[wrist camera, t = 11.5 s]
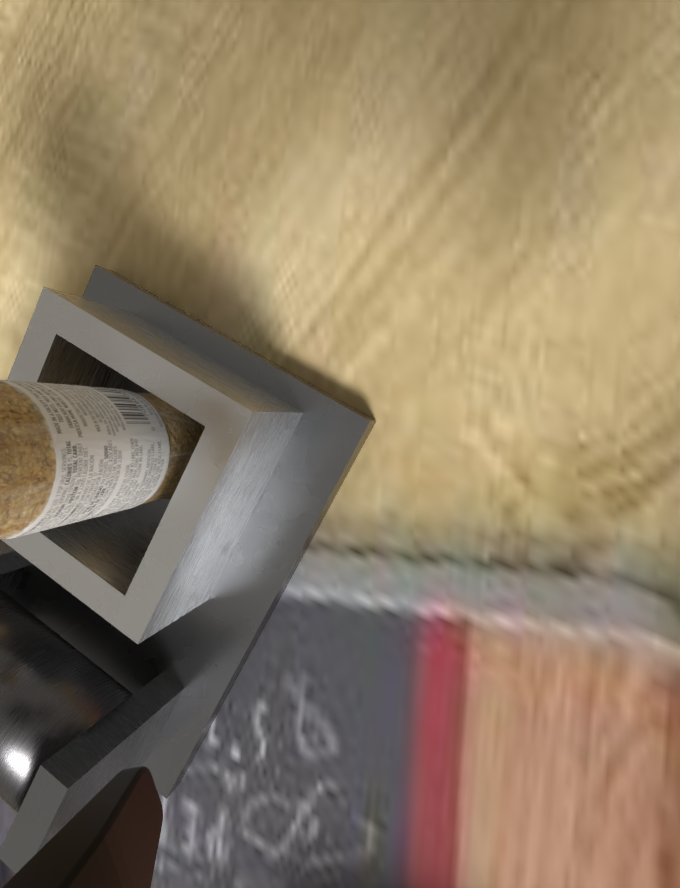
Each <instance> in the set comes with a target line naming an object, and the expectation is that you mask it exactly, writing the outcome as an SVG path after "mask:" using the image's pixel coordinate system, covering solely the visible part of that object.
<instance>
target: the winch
mask: <svg viewBox="0 0 680 888" xmlns="http://www.w3.org/2000/svg"><path fill="white" fill-rule="evenodd" d="M8 380H12V381H25V382H39V383H53V384H66V385H79V386H90V387H103V388H116V389H124V390H128V391H131V392H137V393H152V394H154V395H156V396H157V397H159V398H160V399H162V400H164V401H165V402H167V403H168V404H170V405H172V406H173V407H175V408H176V409H178V410H180V411H181V412H183V413H184V414H186V415H188V416H189V417H191V418H192V419H194V420H196V421H197V422H199V423H200V424H202V425H204V426H205V429H204V431H203V433H202V435H201V437H200V440H199V442H198V444H197V446H196V448H195V450H194V452H193V454H192V456H191V458H190V461H189V463H188V465H187V467H186V469H185V471H184V473H183V475H182V477H181V479H180V481H179V484H178V486H177V488H176V490H175V492H174V494H173V496H172V498H171V499H160V500H155V501H151V502H148V503H144V504H140V505H138V506H136V507H134V508H130V509H127V510H123V511H119V512H115V513H111V514H107V515H103V516H99V517H95V518H91V519H87V520H83V521H79V522H75V523H71V524H67V525H63V526H59V527H55V528H51V529H48V530H44V531H40V532H36V533H32V534H28V535H24V536H20V537H15V538H11V539H2V538H1V539H0V798H2V799H3V800H4V801H5V802H6V803H7V804H8V805H9V806H10V807H11V808H12V809H13V810H15V811H16V812H17V816H16V818H15V820H14V822H13V824H12V826H11V828H10V830H9V832H8V834H7V837H6V839H5V841H4V843H3V845H2V847H1V849H0V859H1V860H2V861H3V862H4V863H5V864H6V865H7V866H8V867H9V868H10V869H11V870H12V871H13V872H14V873H15V874H16V873H17V872H18V871H19V870H20V869H21V868H22V867H23V866H24V865H25V864H26V863H27V862H28V861H29V860H30V859H31V858H32V857H33V856H34V855H35V854H36V853H37V852H38V851H39V850H40V849H41V848H42V847H43V846H44V845H45V844H46V843H47V842H48V841H49V840H50V839H51V838H53V837H54V836H55V835H56V834H57V833H58V832H59V831H60V830H61V829H62V828H63V827H64V826H65V825H66V824H67V823H68V822H69V821H70V820H71V819H72V818H73V817H74V816H75V815H76V814H77V813H78V812H79V811H80V810H81V809H82V808H83V807H84V806H85V805H86V804H87V803H88V802H89V801H90V800H91V799H92V798H93V797H94V796H95V795H96V794H97V793H98V792H99V791H100V790H101V789H102V788H103V787H104V786H105V785H106V784H107V783H108V782H109V781H110V780H111V779H112V778H113V777H114V776H115V775H117V774H118V773H119V772H120V771H122V770H124V769H128V768H134V767H140V766H145V767H147V768H148V769H149V770H150V772H151V774H152V777H153V780H154V783H155V786H156V789H157V791H158V792H159V793H160V794H161V795H163V796H164V797H165V798H167V797H168V796H169V795H170V794H171V793H172V792H173V790H174V789H175V788H176V787H177V786H178V785H179V783H180V782H181V780H182V778H183V776H184V774H185V772H186V770H187V769H188V767H189V765H190V763H191V761H192V759H193V758H194V756H195V754H196V752H197V750H198V748H199V746H200V745H201V743H202V741H203V739H204V737H205V735H206V734H207V732H208V730H209V728H210V726H211V724H212V723H213V721H214V719H215V717H216V715H217V713H218V711H219V710H220V708H221V706H222V704H223V702H224V700H225V699H226V697H227V695H228V693H229V691H230V689H231V687H232V686H233V684H234V682H235V680H236V678H237V676H238V675H239V673H240V671H241V669H242V667H243V665H244V664H245V662H246V660H247V658H248V656H249V654H250V652H251V651H252V649H253V647H254V645H255V643H256V641H257V640H258V638H259V636H260V634H261V632H262V630H263V629H264V627H265V625H266V623H267V621H268V619H269V617H270V616H271V614H272V612H273V610H274V608H275V606H276V605H277V603H278V601H279V599H280V597H281V595H282V593H283V592H284V590H285V588H286V586H287V584H288V582H289V581H290V579H291V577H292V575H293V573H294V571H295V570H296V568H297V566H298V564H299V562H300V560H301V558H302V557H303V555H304V553H305V551H306V549H307V547H308V546H309V544H310V542H311V540H312V538H313V536H314V534H315V533H316V531H317V529H318V527H319V525H320V523H321V522H322V520H323V518H324V516H325V514H326V512H327V511H328V509H329V507H330V505H331V503H332V501H333V499H334V498H335V496H336V494H337V492H338V490H339V488H340V487H341V485H342V483H343V481H344V479H345V477H346V476H347V474H348V472H349V470H350V468H351V466H352V464H353V463H354V461H355V459H356V457H357V455H358V453H359V452H360V450H361V448H362V446H363V444H364V442H365V440H366V439H367V437H368V435H369V433H370V431H371V429H372V428H373V426H374V424H375V422H376V421H375V420H373V419H371V418H370V417H368V416H366V415H364V414H363V413H361V412H359V411H357V410H356V409H354V408H352V407H350V406H348V405H347V404H345V403H343V402H341V401H340V400H338V399H336V398H334V397H333V396H331V395H329V394H327V393H326V392H324V391H322V390H320V389H319V388H317V387H315V386H313V385H311V384H310V383H308V382H306V381H304V380H303V379H301V378H299V377H297V376H296V375H294V374H292V373H290V372H289V371H287V370H285V369H283V368H282V367H280V366H278V365H276V364H274V363H273V362H271V361H269V360H267V359H266V358H264V357H262V356H260V355H259V354H257V353H255V352H253V351H252V350H250V349H248V348H246V347H245V346H243V345H241V344H239V343H237V342H236V341H234V340H232V339H230V338H229V337H227V336H225V335H223V334H222V333H220V332H218V331H216V330H215V329H213V328H211V327H209V326H208V325H206V324H204V323H202V322H201V321H199V320H197V319H195V318H193V317H192V316H190V315H188V314H186V313H185V312H183V311H181V310H179V309H178V308H176V307H174V306H172V305H171V304H169V303H167V302H165V301H164V300H162V299H160V298H158V297H156V296H155V295H153V294H151V293H149V292H148V291H146V290H144V289H142V288H141V287H139V286H137V285H135V284H134V283H132V282H130V281H128V280H127V279H125V278H123V277H121V276H119V275H118V274H116V273H114V272H112V271H110V270H108V269H105V268H102V267H100V266H97V265H95V268H94V270H93V273H92V275H91V278H90V280H89V283H88V285H87V288H86V290H85V292H84V295H83V297H82V298H81V297H78V296H74V295H71V294H67V293H64V292H60V291H57V290H53V289H50V288H46V287H44V288H43V291H42V293H41V296H40V298H39V301H38V303H37V306H36V308H35V311H34V314H33V316H32V319H31V321H30V324H29V326H28V329H27V331H26V334H25V336H24V339H23V342H22V344H21V347H20V349H19V352H18V354H17V357H16V359H15V362H14V365H13V367H12V370H11V372H10V375H9V377H8Z"/></svg>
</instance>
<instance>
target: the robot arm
mask: <svg viewBox="0 0 680 888" xmlns="http://www.w3.org/2000/svg"><path fill="white" fill-rule="evenodd" d="M162 820H163V810H162V804H161V801H160V798H159V795H158V792H157V789H156V786H155V783H154V780H153V777H152V774H151V772H150V770H149V769H148V768H147V767H145V766H140V767H134V768H128V769H124V770H122V771H120V772H119V773H118V774H117V775H115V776H114V777H113V778H112V779H111V780H110V781H109V782H108V783H107V784H106V785H105V786H104V787H103V788H102V789H101V790H100V791H99V792H98V793H97V794H96V795H95V796H94V797H93V798H92V799H91V800H90V801H89V802H88V803H87V804H86V805H85V806H84V807H83V808H82V809H81V810H80V811H79V812H78V813H77V814H76V815H75V816H74V817H73V818H72V819H71V820H70V821H69V822H68V823H67V824H66V825H65V826H64V827H63V828H62V829H61V830H60V831H59V832H58V833H57V834H56V835H55V836H54V837H53V838H51V839H50V840H49V841H48V842H47V843H46V844H45V845H44V846H43V847H42V848H41V849H40V850H39V851H38V852H37V853H36V854H35V855H34V856H33V857H32V858H31V859H30V860H29V861H28V862H27V863H26V864H25V865H24V866H23V867H22V868H21V869H20V870H19V871H18V872H17V873H16V874H15V875H14V876H13V877H12V878H11V879H10V880H9V881H8V882H7V883H6V884H5V885H4V886H3V887H2V888H150V887H151V881H152V876H153V870H154V865H155V859H156V854H157V849H158V843H159V838H160V832H161V827H162Z"/></svg>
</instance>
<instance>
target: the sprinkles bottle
mask: <svg viewBox="0 0 680 888" xmlns="http://www.w3.org/2000/svg"><path fill="white" fill-rule="evenodd" d="M204 429H205V426H204V425H202V424H200V423H199V422H197V421H196V420H194V419H192V418H191V417H189V416H188V415H186V414H184V413H183V412H181V411H180V410H178V409H176V408H175V407H173V406H172V405H170V404H168V403H167V402H165V401H164V400H162V399H160V398H159V397H157V396H156V395H154V394H152V393H137V392H131V391H128V390H124V389H116V388H103V387H90V386H79V385H66V384H53V383H39V382H25V381H12V380H0V539H1V538H2V539H11V538H15V537H20V536H24V535H28V534H32V533H36V532H40V531H44V530H48V529H51V528H55V527H59V526H63V525H67V524H71V523H75V522H79V521H83V520H87V519H91V518H95V517H99V516H103V515H107V514H111V513H115V512H119V511H123V510H127V509H130V508H134V507H136V506H138V505H140V504H144V503H148V502H151V501H155V500H160V499H171V498H172V496H173V494H174V492H175V490H176V488H177V486H178V484H179V481H180V479H181V477H182V475H183V473H184V471H185V469H186V467H187V465H188V463H189V461H190V458H191V456H192V454H193V452H194V450H195V448H196V446H197V444H198V442H199V440H200V437H201V435H202V433H203V431H204Z"/></svg>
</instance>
